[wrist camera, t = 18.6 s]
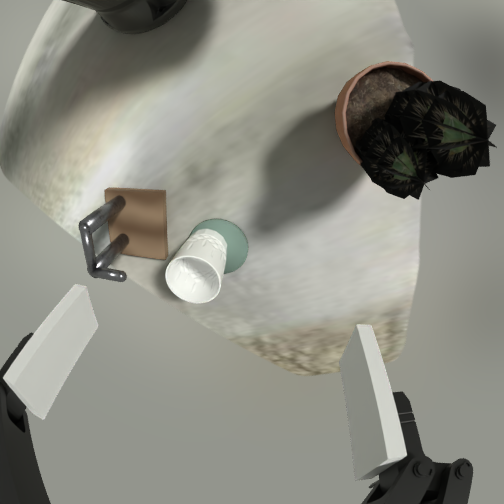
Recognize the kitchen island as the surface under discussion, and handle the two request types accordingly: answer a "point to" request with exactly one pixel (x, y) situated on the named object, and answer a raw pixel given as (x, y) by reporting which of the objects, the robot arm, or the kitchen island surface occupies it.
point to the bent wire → (107, 256)
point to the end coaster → (229, 241)
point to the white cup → (198, 267)
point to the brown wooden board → (141, 221)
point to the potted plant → (411, 128)
